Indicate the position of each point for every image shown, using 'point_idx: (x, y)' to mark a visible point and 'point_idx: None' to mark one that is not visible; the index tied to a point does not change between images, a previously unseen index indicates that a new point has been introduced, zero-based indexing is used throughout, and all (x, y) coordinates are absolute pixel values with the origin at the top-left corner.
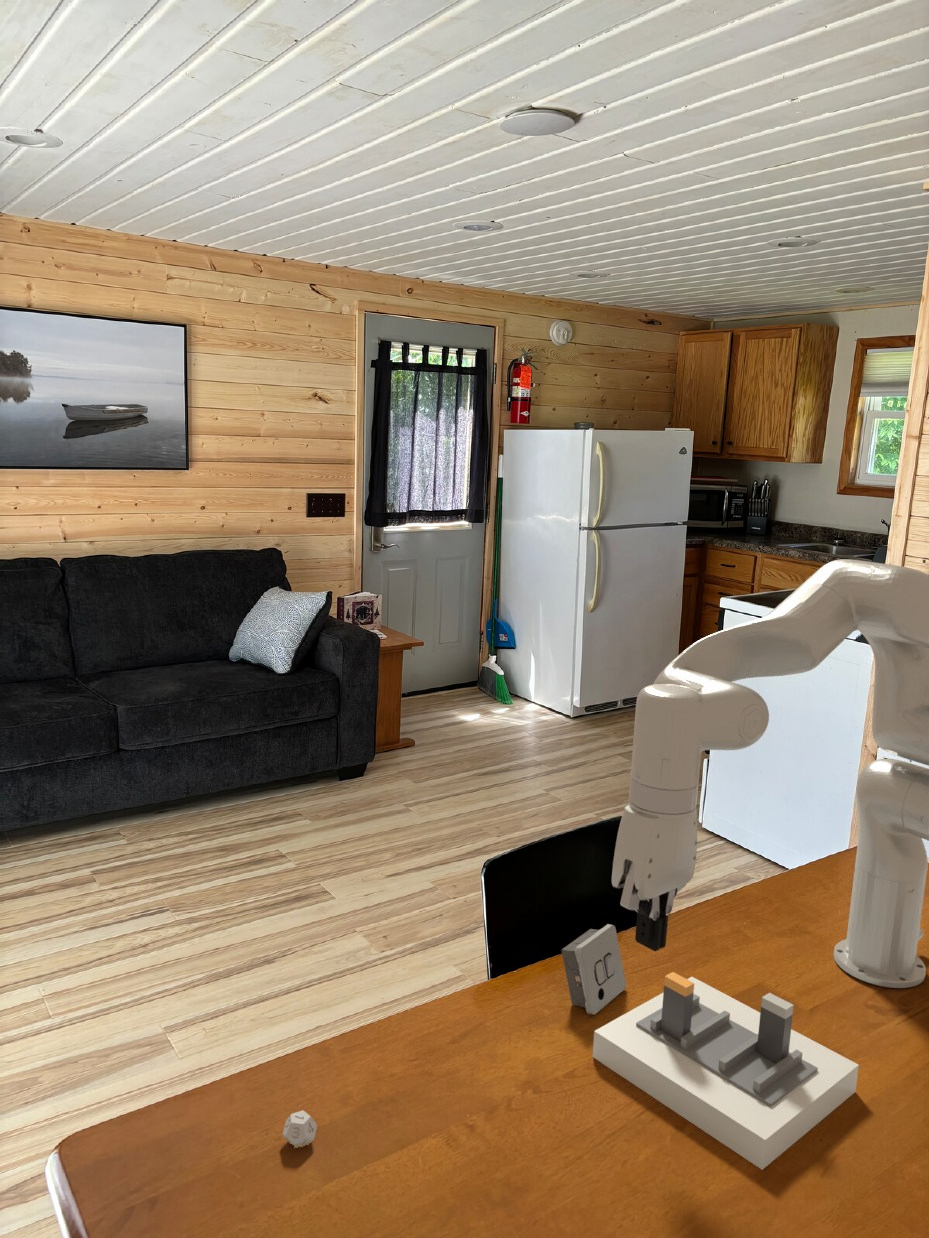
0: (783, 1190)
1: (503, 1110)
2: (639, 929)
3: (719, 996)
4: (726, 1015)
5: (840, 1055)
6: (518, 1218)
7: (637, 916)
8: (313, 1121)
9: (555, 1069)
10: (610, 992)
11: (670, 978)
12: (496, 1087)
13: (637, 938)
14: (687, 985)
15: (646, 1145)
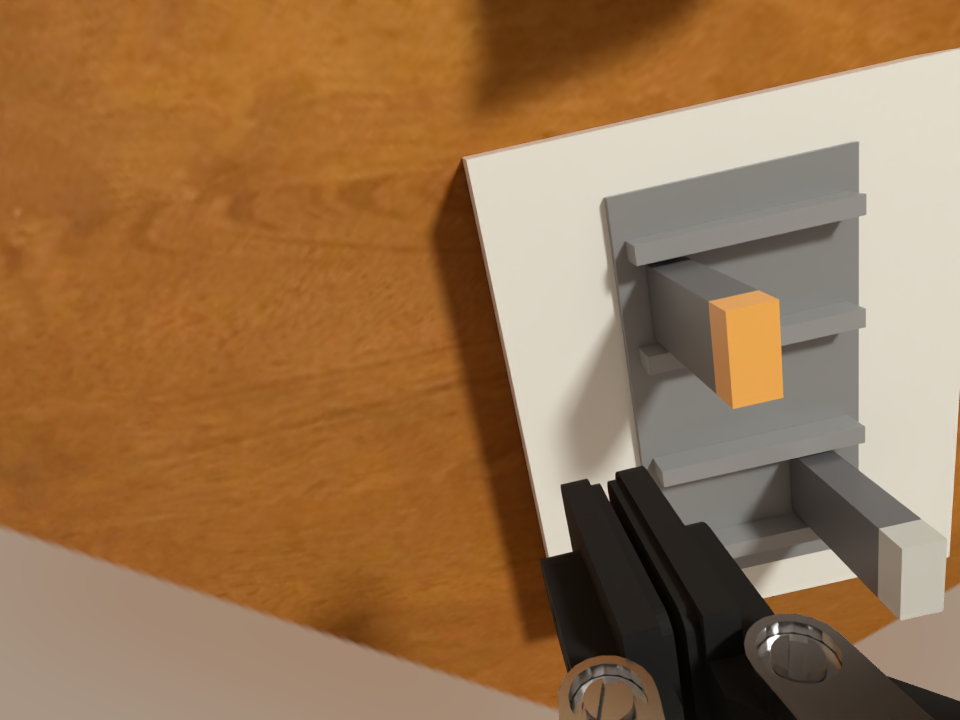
0: (549, 636)
1: (119, 238)
2: (553, 606)
3: (946, 189)
4: (847, 330)
5: (949, 520)
6: (36, 518)
7: (603, 591)
8: None
9: (333, 155)
10: None
11: (730, 335)
12: (134, 147)
13: (566, 502)
14: (748, 400)
15: (390, 467)
